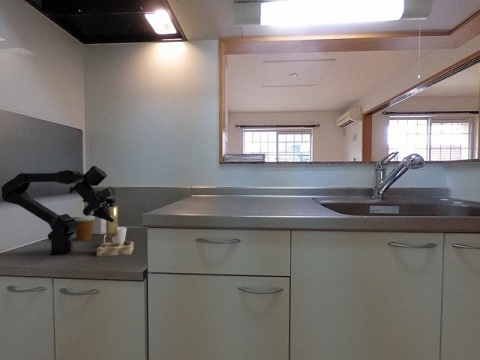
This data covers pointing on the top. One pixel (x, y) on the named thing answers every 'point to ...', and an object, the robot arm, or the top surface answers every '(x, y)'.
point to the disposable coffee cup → (84, 227)
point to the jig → (115, 248)
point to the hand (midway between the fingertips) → (115, 220)
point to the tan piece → (112, 226)
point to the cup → (119, 235)
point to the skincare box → (98, 225)
